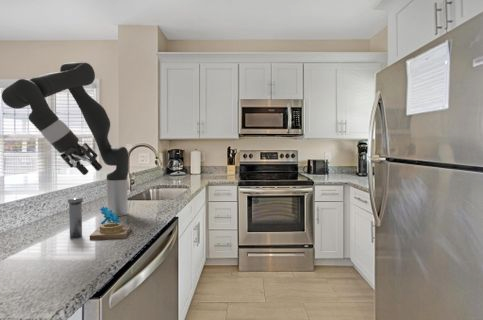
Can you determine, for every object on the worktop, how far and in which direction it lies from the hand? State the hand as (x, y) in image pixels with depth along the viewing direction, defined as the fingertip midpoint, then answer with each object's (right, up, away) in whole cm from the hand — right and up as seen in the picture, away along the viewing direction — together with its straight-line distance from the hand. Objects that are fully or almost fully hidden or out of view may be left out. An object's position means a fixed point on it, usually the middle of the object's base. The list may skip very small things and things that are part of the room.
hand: (93, 171), depth 112 cm
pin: (-7, -24, +2) cm, 25 cm away
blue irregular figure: (-3, -24, +22) cm, 32 cm away
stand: (+5, -24, +5) cm, 25 cm away
